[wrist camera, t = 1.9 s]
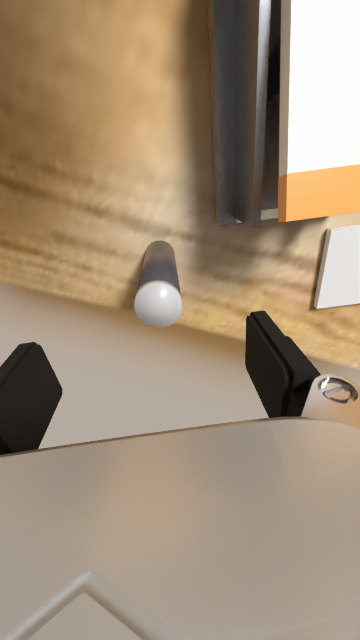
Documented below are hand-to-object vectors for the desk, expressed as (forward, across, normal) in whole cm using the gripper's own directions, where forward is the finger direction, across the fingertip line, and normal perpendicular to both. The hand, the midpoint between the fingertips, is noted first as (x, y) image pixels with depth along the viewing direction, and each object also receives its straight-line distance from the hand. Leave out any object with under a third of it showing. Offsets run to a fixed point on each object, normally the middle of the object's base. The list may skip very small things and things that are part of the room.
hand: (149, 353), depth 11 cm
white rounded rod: (+17, -1, 0) cm, 17 cm away
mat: (+16, -23, +4) cm, 28 cm away
